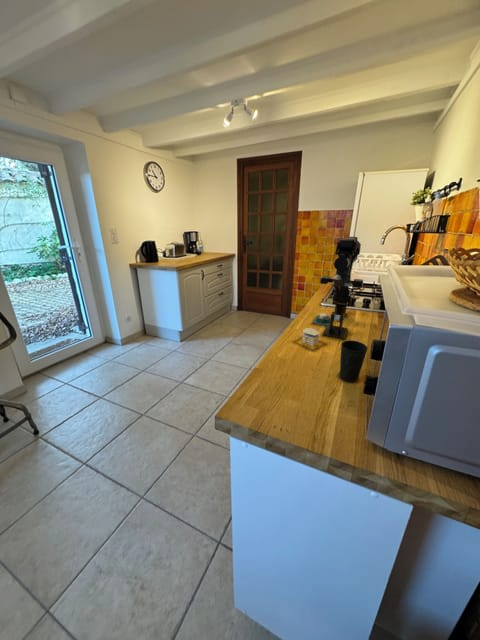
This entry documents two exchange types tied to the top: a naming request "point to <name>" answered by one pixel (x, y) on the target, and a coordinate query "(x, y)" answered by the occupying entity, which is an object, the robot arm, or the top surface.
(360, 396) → the top surface
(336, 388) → the top surface
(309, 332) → the stacked layers on plate
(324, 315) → the button
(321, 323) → the button housing
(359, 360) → the cup
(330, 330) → the toaster bracket
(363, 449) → the top surface
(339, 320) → the press lever
